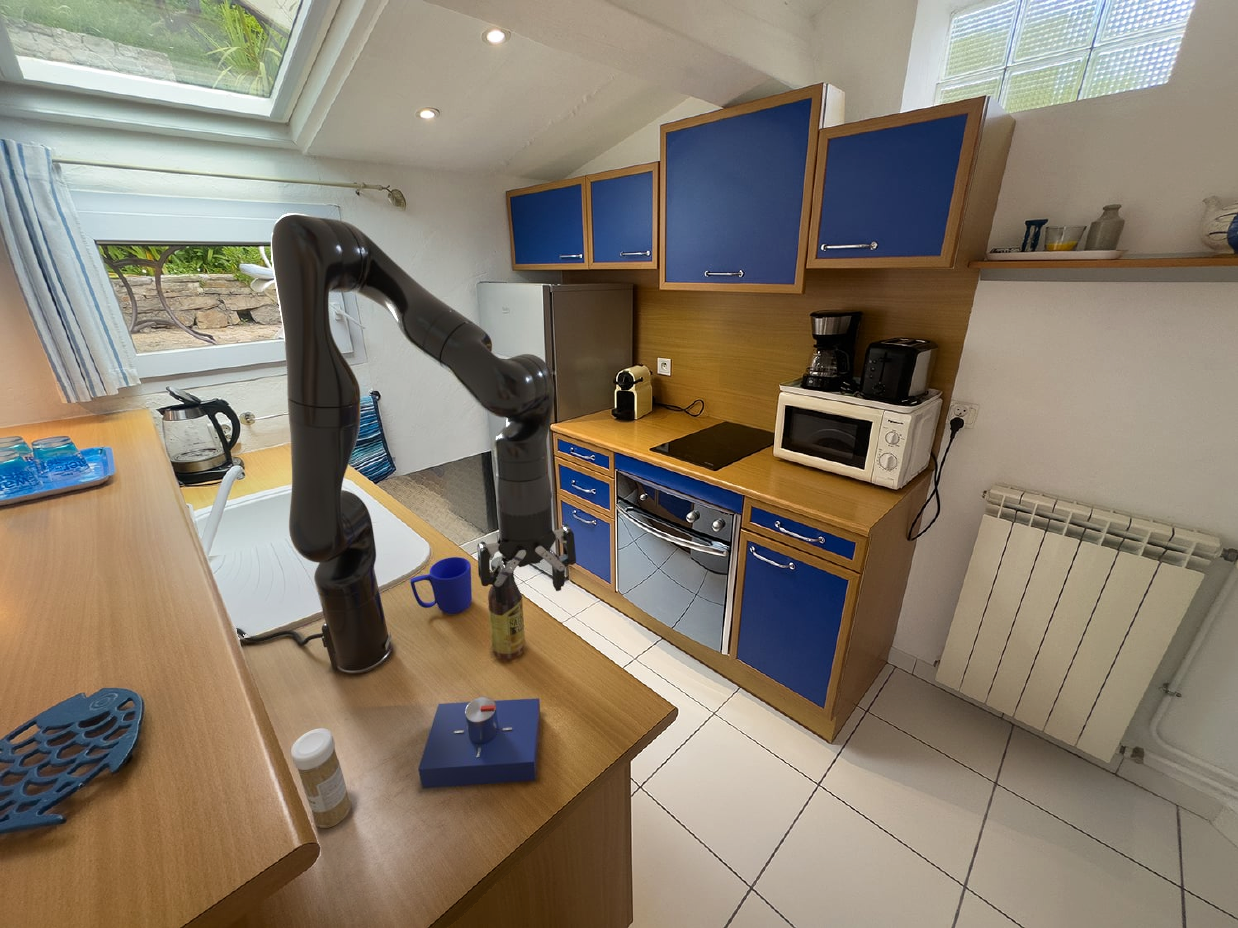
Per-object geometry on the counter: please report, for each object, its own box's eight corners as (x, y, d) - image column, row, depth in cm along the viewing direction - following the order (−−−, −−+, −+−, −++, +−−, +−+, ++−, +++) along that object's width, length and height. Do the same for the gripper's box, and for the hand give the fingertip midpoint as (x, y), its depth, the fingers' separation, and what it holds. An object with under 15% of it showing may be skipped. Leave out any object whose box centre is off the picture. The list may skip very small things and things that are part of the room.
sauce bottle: (518, 664, 92) (510, 575, 84) (486, 659, 93) (476, 570, 85) (530, 640, 98) (524, 554, 90) (501, 635, 99) (492, 550, 91)
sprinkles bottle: (308, 813, 67) (284, 744, 62) (343, 788, 70) (323, 720, 65) (322, 837, 64) (298, 766, 59) (358, 810, 67) (338, 740, 62)
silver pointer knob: (465, 744, 72) (461, 721, 70) (471, 718, 76) (468, 695, 74) (495, 742, 72) (493, 719, 71) (500, 717, 76) (497, 694, 75)
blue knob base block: (422, 788, 70) (417, 768, 68) (441, 721, 80) (438, 702, 79) (535, 780, 71) (533, 760, 70) (540, 715, 81) (539, 697, 80)
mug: (415, 604, 107) (408, 565, 103) (472, 590, 112) (467, 553, 108) (417, 628, 100) (410, 587, 96) (478, 613, 105) (473, 573, 101)
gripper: (563, 482, 75) (566, 571, 81) (467, 498, 69) (478, 592, 76) (581, 502, 69) (582, 597, 75) (477, 522, 63) (488, 623, 69)
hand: (530, 595), depth 75 cm, fingers open, 8 cm apart
